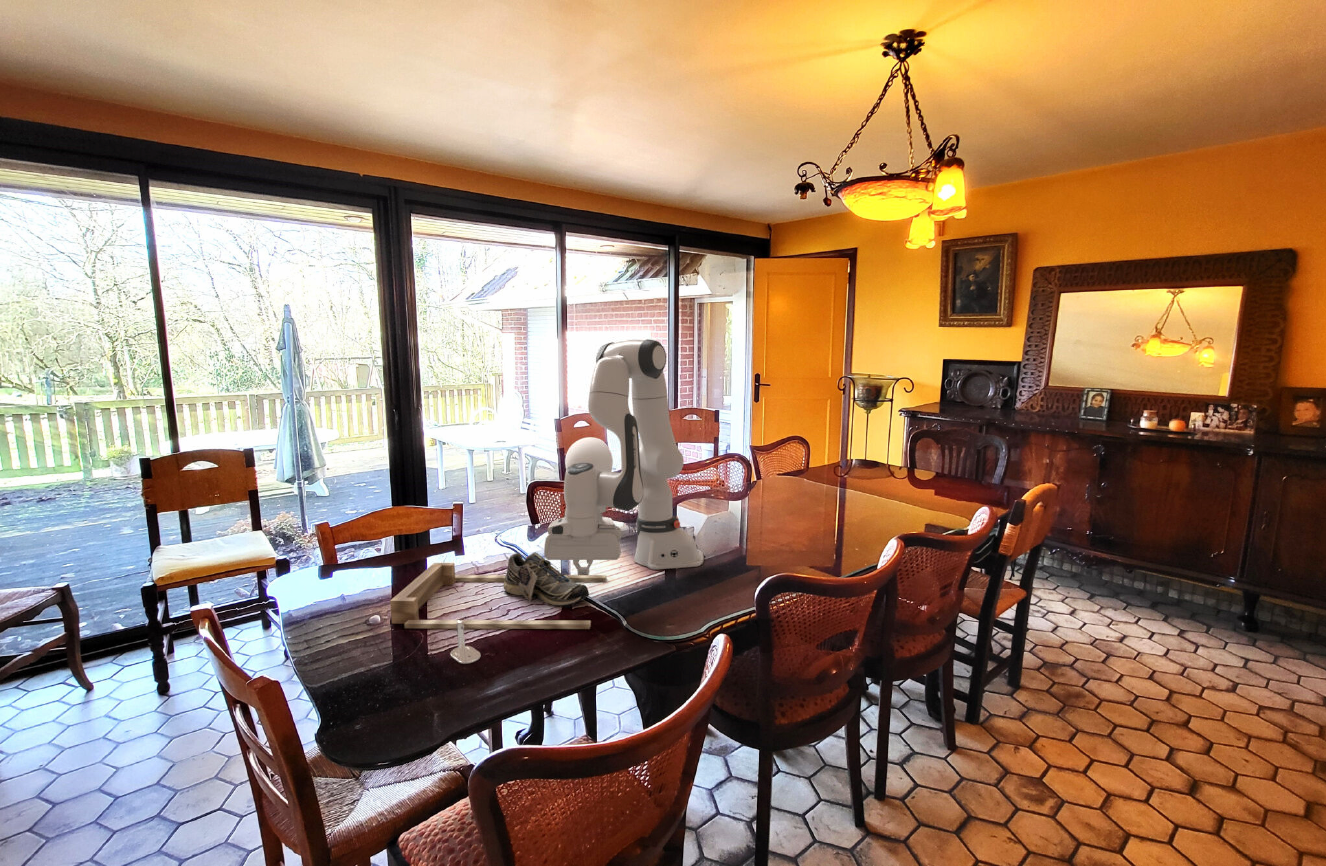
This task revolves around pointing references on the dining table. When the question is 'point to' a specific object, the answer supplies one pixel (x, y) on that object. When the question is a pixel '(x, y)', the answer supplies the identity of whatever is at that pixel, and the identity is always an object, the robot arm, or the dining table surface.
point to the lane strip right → (502, 577)
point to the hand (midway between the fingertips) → (583, 574)
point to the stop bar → (421, 591)
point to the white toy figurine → (592, 462)
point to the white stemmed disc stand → (464, 648)
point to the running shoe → (541, 581)
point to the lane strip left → (500, 624)
